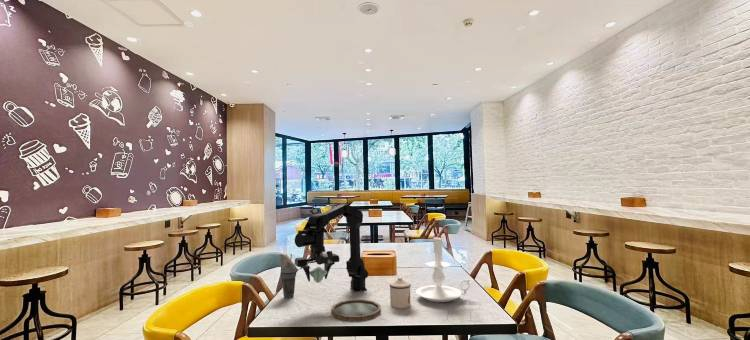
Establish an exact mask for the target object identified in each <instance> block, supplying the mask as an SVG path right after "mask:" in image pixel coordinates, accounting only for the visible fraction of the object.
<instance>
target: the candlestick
mask: <svg viewBox="0 0 750 340" xmlns="http://www.w3.org/2000/svg"><path fill="white" fill-rule="evenodd" d="M433 253H434V261H428V262H425V265H426V266H427V267H431V268H433V269H434V271H433V273H432V274H431V278H432V281H433V283H435V285H434V284H433V285H425V286H421V287H418V288H417V289H416V290H415V293H416V294H417V295H418V296H419V297H421V298H423V299H424V300H427V301H430V302H434V303H435V302H436V303H446V302H452V301H454V300H456V299H457V298H460V297H462V296H463V295H464V296H465V295H466V294H467V291H468V290H469V288H470V281H471V279H462V280H461V281H459V285H458V286H459V288H460V289H461V290H460V289H458V288H456V287H452V286H448V285H447V286H446V285H442V284H443V283H444V282H445V279H446V276H445V273H444V272H443V269H444V268H447V267H450V266H451V265H452V264H451V263H449V262H446V261H442V260H443V238H441V237H439V236H438V237H437V236H435V237H433ZM463 283H467V286H466V287H465V288H464V287H462V284H463ZM462 291H463V292H462Z"/></svg>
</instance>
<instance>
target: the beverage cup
mask: <svg viewBox="0 0 750 340" xmlns="http://www.w3.org/2000/svg"><path fill="white" fill-rule="evenodd" d="M292 257H293V254H292V253H290V258H289V259H290V260H289V262H287V263H285V264H284V265H283V266H282V267H281V272H280V275H281V279H282V280H281V281H282V294H283V299H293V298H294V297H295V288H296V286H295V285H296V277H297V273H298V272H297V266H296V265H295V264H294V263H292Z"/></svg>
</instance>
